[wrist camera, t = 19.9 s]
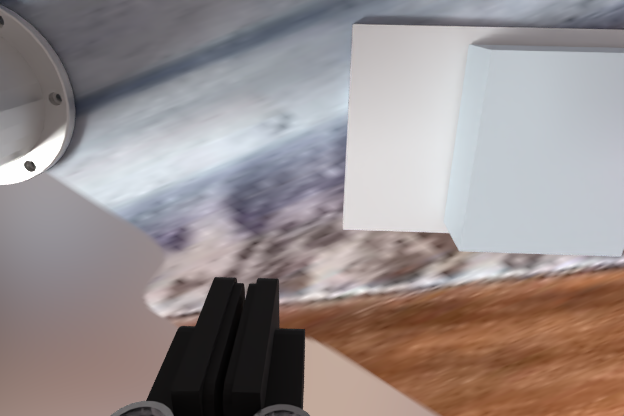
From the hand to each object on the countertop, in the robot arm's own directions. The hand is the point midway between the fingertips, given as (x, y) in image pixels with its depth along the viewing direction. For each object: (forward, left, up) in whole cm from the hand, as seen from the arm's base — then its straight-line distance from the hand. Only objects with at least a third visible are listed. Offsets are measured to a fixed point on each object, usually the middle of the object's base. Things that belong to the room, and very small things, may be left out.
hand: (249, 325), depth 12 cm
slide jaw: (+16, 0, -21) cm, 26 cm away
